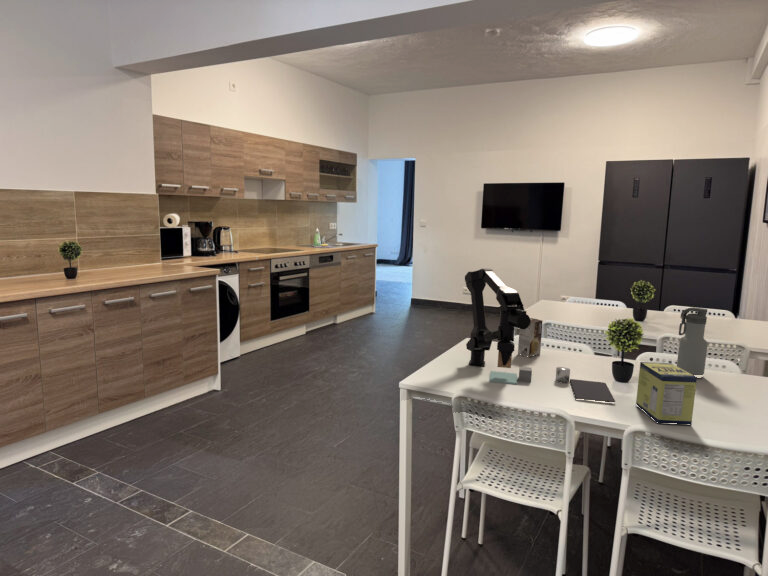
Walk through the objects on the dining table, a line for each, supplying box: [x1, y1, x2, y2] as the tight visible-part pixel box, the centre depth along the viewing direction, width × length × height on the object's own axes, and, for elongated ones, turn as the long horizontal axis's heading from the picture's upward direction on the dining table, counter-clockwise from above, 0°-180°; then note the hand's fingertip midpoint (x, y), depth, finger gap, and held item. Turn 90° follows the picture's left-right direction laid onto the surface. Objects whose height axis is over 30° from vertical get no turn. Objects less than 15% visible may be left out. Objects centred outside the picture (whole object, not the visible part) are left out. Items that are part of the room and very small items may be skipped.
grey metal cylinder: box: [554, 366, 571, 384], centre depth 193 cm, size 5×5×5 cm
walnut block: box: [497, 350, 513, 369], centre depth 194 cm, size 5×5×6 cm
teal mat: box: [489, 370, 518, 385], centre depth 195 cm, size 12×10×1 cm
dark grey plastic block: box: [518, 366, 533, 383], centre depth 193 cm, size 4×4×4 cm
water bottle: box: [676, 306, 709, 375], centre depth 204 cm, size 10×10×28 cm
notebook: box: [569, 378, 616, 403], centre depth 182 cm, size 13×2×21 cm
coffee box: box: [517, 317, 543, 358], centre depth 229 cm, size 9×6×16 cm
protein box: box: [635, 361, 698, 425], centre depth 161 cm, size 10×16×16 cm
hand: (504, 363), depth 194 cm, fingers closed on walnut block, 5 cm apart
